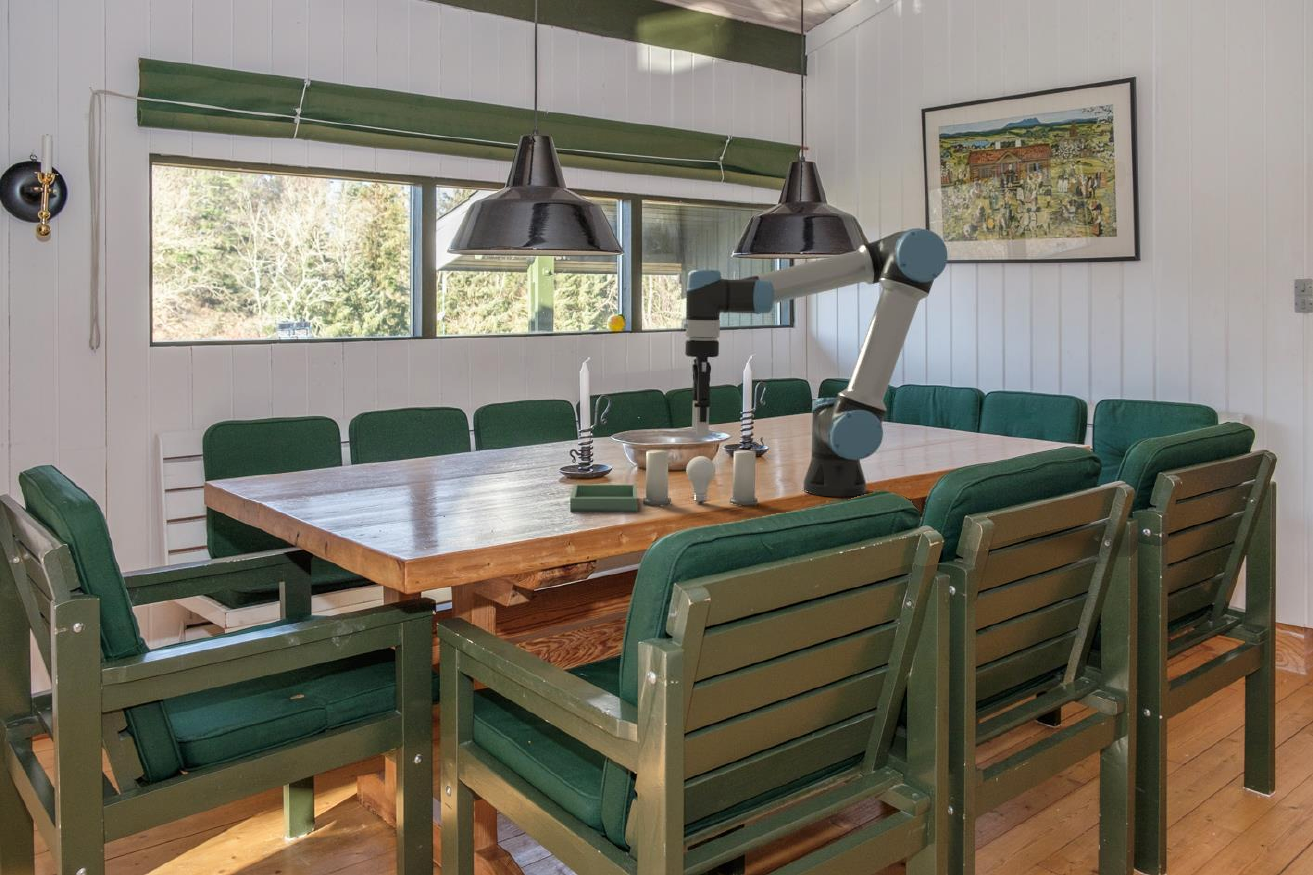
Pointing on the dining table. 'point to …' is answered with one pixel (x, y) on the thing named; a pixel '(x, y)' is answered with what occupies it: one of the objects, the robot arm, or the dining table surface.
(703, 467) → the light bulb
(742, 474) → the candle
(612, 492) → the tray
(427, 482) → the dining table surface
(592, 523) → the dining table surface
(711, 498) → the dining table surface
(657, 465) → the candle
